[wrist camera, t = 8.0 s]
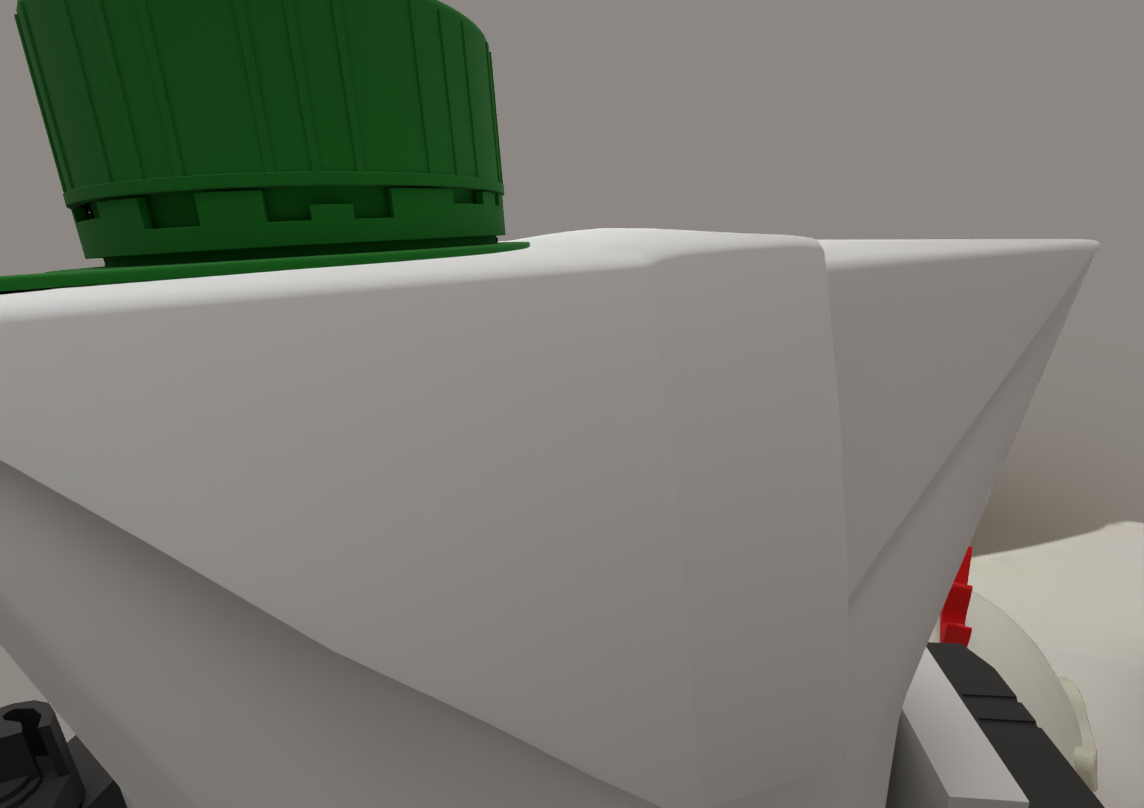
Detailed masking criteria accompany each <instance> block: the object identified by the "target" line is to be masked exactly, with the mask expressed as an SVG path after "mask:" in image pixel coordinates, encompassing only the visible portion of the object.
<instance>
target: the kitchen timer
mask: <svg viewBox="0 0 1144 808" xmlns="http://www.w3.org/2000/svg"><path fill="white" fill-rule="evenodd" d="M971 554H972V547H970V546H969V547H968V549H967V551H966V554H965V556H964V559H963V561H962V563H961V566H960V568H959V570H958V573H957V575H956V577H955V580H954V582H953V584H952V587H951V589H950V591H949V594H948V596H947V599H946V601H945V603H944V606H943V608H942V610H941V613H940V615H939V617H938V620H937V622H936V624H935V627H934V629H933V631H932V634H931V636H930V638H929V641H928V642H934V643H961V644H963V645H964V646H965V647H967V648H968V649H969V650H971V651H972V652H973V653H975V654H976V655H977V656H979V657H980V658H982V659H983V660H984V661H986V662H987V663H988V664H990V665H991V666H992V667H994V668H995V669H996V671H997V672H998V673H999V675H1000V676H1001V677H1002V678H1003V680H1004V681H1005V682H1006V683H1007V685H1008V686H1009V687H1010V688H1011V690H1012V691H1013V692H1014V694H1015V695H1016V696H1017V701H1018V702H1022V704H1023V705H1024V706H1025V707H1026V709H1027V710H1028V711H1029V713H1030V714H1031V715H1032V716H1033V718H1034V719H1035V720H1036V724H1037V726H1038V727H1039V728H1042V729H1043V730H1044V732H1045V733H1046V734H1047V735H1048V737H1049V738H1050V739H1051V740H1052V742H1053V743H1054V744H1055V745H1056V747H1057V748H1058V749H1059V751H1060V752H1061V753H1062V754H1063V756H1064V757H1065V758H1066V759H1067V761H1068V762H1069V763H1070V765H1071V766H1072V767H1073V768H1074V770H1075V771H1076V772H1077V773H1078V775H1079V776H1080V777H1081V778H1082V780H1083V781H1084V782H1085V784H1086V785H1087V786H1088V787H1089V789H1090V790H1091V791H1094V792H1095V791H1097V789H1098V786H1097V750H1096V746H1095V743H1094V739H1093V736H1092V732H1091V729H1090V725H1089V721H1088V717H1087V713H1086V708H1085V704H1084V701H1083V698H1082V695H1081V693H1080V691H1079V689H1078V688H1077V686H1076V685H1075V684H1074V682H1072V681H1071V680H1069V679H1068V678H1057V676H1056V674H1055V673H1054V671H1053V669H1052V667H1051V666H1050V664H1049V662H1048V661H1047V659H1046V657H1045V656H1044V654H1043V653H1042V652H1041V650H1040V649H1039V647H1038V646H1037V645H1036V643H1035V642H1034V641H1033V640H1032V639H1031V637H1030V636H1029V635H1028V634H1027V633H1026V632H1025V631H1024V630H1023V629H1022V628H1021V627H1020V626H1019V625H1018V624H1017V623H1016V622H1015V621H1014V620H1013V619H1012V618H1011V617H1010V616H1009V615H1008V614H1006V613H1005V612H1004V611H1003V610H1002V609H1000V608H999V607H998V606H996V605H995V604H993V603H992V602H990V601H989V600H987V599H986V598H984V597H983V596H981V595H979V594H977V593H975V592H973V591H972V586H970V585H967V583H968V576H969V568H970V561H971Z"/></svg>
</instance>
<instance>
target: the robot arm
mask: <svg viewBox="0 0 1144 808" xmlns="http://www.w3.org/2000/svg"><path fill="white" fill-rule="evenodd" d="M0 808H136V807H135V805H134V804H133V803H132V802H131V800H130V799H129V798H128V797H127V795H126V794H125V793H124V792H123V790H122V789H121V788H120V787H119V786H118V784H117V783H116V782H115V781H114V780H113V778H112V777H111V776H110V775H109V774H108V772H107V771H106V770H105V769H104V768H103V766H102V765H101V764H100V763H99V762H98V761H97V759H96V758H95V757H94V756H93V755H92V753H91V752H90V751H89V750H88V749H87V747H86V746H85V745H84V744H83V743H82V741H81V740H80V739H79V738H78V737H77V735H75V736H74V737H73V738H72V739H71V740H70V741H69V742H68V743H67V742H66V740H65V737H64V735H63V732H62V730H61V727H60V725H59V722H58V720H57V718H56V715H55V712H54V710H53V709H52V707H51V706H50V704H49V703H46V702H40V701H35V700H34V701H27V702H20V703H14V704H11V705H8V706H5V707H2V708H0ZM885 808H1104V806H1103V805H1102V804H1101V803H1100V801H1099V800H1098V799H1097V797H1096V796H1095V795H1094V794H1093V792H1092V791H1091V790H1090V789H1089V787H1088V786H1087V785H1086V784H1085V782H1084V781H1083V780H1082V778H1081V777H1080V776H1079V775H1078V773H1077V772H1076V771H1075V770H1074V768H1073V767H1072V766H1071V765H1070V763H1069V762H1068V761H1067V759H1066V758H1065V757H1064V756H1063V754H1062V753H1061V752H1060V751H1059V749H1058V748H1057V747H1056V745H1055V744H1054V743H1053V742H1052V740H1051V739H1050V738H1049V737H1048V735H1047V734H1046V733H1045V732H1044V730H1043V729H1042V728H1039V727H1038V726H1037V724H1036V720H1035V719H1034V718H1033V716H1032V715H1031V714H1030V713H1029V711H1028V710H1027V709H1026V707H1025V706H1024V705H1023V704H1022V702H1018V701H1017V696H1016V695H1015V694H1014V692H1013V691H1012V690H1011V688H1010V687H1009V686H1008V685H1007V683H1006V682H1005V681H1004V680H1003V678H1002V677H1001V676H1000V675H999V673H998V672H997V671H996V669H995V668H994V667H992V666H991V665H990V664H988V663H987V662H986V661H984V660H983V659H982V658H980V657H979V656H977V655H976V654H975V653H973V652H972V651H971V650H969V649H968V648H967V647H965V646H964V645H963V644H961V643H934V642H928V643H927V646H926V648H925V650H924V653H923V655H922V658H921V660H920V663H919V665H918V667H917V670H916V672H915V675H914V677H913V680H912V682H911V685H910V687H909V690H908V692H907V694H906V697H905V700H904V704H903V707H902V710H901V714H900V717H899V722H898V728H897V734H896V741H895V747H894V753H893V760H892V766H891V773H890V780H889V787H888V793H887V800H886V807H885Z"/></svg>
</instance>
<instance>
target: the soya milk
mask: <svg viewBox="0 0 1144 808" xmlns="http://www.w3.org/2000/svg"><path fill="white" fill-rule="evenodd" d="M15 20H16V24H17V28H18V31H19V35H20V38H21V42H22V45H23V49H24V52H25V56H26V60H27V63H28V67H29V70H30V74H31V78H32V81H33V85H34V88H35V92H36V96H37V99H38V103H39V106H40V110H41V113H42V117H43V121H44V124H45V128H46V131H47V135H48V138H49V142H50V146H51V149H52V153H53V156H54V159H55V163H56V167H57V171H58V174H59V178H60V181H61V185H62V189H63V192H64V194H63V196H64V200H65V203H66V207H67V208H69V209H71V210H72V214H73V217H74V220H75V224H76V228H77V231H78V234H79V238H80V241H81V244H82V248H83V252H84V255H85V258H86V259H89V258H103V259H104V262H105V267H93V268H81V269H70V270H60V271H51V272H45V273H41V274H27V275H13V276H0V645H1V646H2V647H3V648H4V649H5V651H6V652H7V653H8V654H9V655H10V656H11V658H12V659H13V660H14V661H15V663H16V664H17V665H18V666H19V667H20V669H21V670H22V671H23V672H24V673H25V674H26V676H28V678H29V679H30V680H31V681H32V683H33V684H34V685H35V686H36V688H37V689H38V690H39V691H40V692H41V694H42V695H43V696H44V697H45V698H46V700H47V701H48V702H49V703H50V704H51V705H52V707H53V708H54V709H55V710H56V711H57V713H58V714H59V715H60V716H61V717H62V719H63V720H64V721H65V722H66V723H67V725H68V726H69V727H70V728H71V729H72V731H73V732H74V733H75V734H76V735H77V737H78V738H79V739H80V740H81V741H82V743H83V744H84V745H85V746H86V747H87V749H88V750H89V751H90V752H91V753H92V755H93V756H94V757H95V758H96V759H97V761H98V762H99V763H100V764H101V765H102V766H103V768H104V769H105V770H106V771H107V772H108V774H109V775H110V776H111V777H112V778H113V780H114V781H115V782H116V783H117V784H118V786H119V787H120V788H121V789H122V790H123V792H124V793H125V794H126V795H127V797H128V798H129V799H130V800H131V802H132V803H133V804H134V805H135V807H136V808H885V807H886V800H887V793H888V787H889V780H890V773H891V766H892V760H893V753H894V747H895V741H896V734H897V728H898V722H899V717H900V714H901V710H902V707H903V704H904V700H905V697H906V694H907V692H908V690H909V687H910V685H911V682H912V680H913V677H914V675H915V672H916V670H917V667H918V665H919V663H920V660H921V658H922V655H923V653H924V650H925V648H926V646H927V643H928V641H929V638H930V636H931V634H932V631H933V629H934V627H935V624H936V622H937V620H938V617H939V615H940V613H941V610H942V608H943V606H944V603H945V601H946V599H947V596H948V594H949V591H950V589H951V587H952V584H953V582H954V580H955V577H956V575H957V573H958V570H959V568H960V566H961V563H962V561H963V559H964V556H965V554H966V551H967V549H968V547H969V544H970V542H971V540H972V537H973V535H974V532H975V530H976V528H977V526H978V523H979V521H980V519H981V516H982V514H983V511H984V509H985V507H986V504H987V502H988V500H989V497H990V495H991V493H992V490H993V488H994V485H995V483H996V481H997V479H998V476H999V474H1000V472H1001V469H1002V467H1003V465H1004V462H1005V460H1006V458H1007V455H1008V453H1009V451H1010V448H1011V446H1012V444H1013V441H1014V439H1015V437H1016V434H1017V432H1018V429H1019V427H1020V425H1021V423H1022V420H1023V418H1024V415H1025V413H1026V411H1027V408H1028V406H1029V404H1030V401H1031V399H1032V397H1033V395H1034V392H1035V390H1036V388H1037V385H1038V383H1039V381H1040V379H1041V376H1042V374H1043V372H1044V370H1045V367H1046V365H1047V363H1048V360H1049V358H1050V356H1051V354H1052V351H1053V349H1054V347H1055V344H1056V342H1057V340H1058V337H1059V335H1060V333H1061V331H1062V328H1063V326H1064V324H1065V321H1066V319H1067V317H1068V314H1069V312H1070V310H1071V308H1072V305H1073V303H1074V301H1075V298H1076V296H1077V294H1078V292H1079V289H1080V287H1081V285H1082V282H1083V280H1084V278H1085V275H1086V273H1087V271H1088V268H1089V266H1090V264H1091V262H1092V259H1093V257H1094V255H1095V253H1096V251H1097V249H1098V247H1099V242H1097V241H1094V240H1087V239H954V240H953V239H941V240H940V239H937V240H936V239H931V240H928V239H927V240H926V239H925V240H923V239H921V240H815V239H814V238H809V237H801V236H791V235H773V234H745V233H727V232H709V231H707V232H706V231H689V230H669V229H650V228H648V229H647V228H645V229H644V228H640V229H639V228H600V229H590V230H580V231H570V232H562V233H555V234H548V235H541V236H535V237H530V238H523V239H518V240H511V241H501V242H498V238H497V237H496V236H498V235H505V225H504V212H503V200H502V196H503V195H504V186H503V180H502V169H501V159H500V148H499V136H498V125H497V114H496V104H495V92H494V83H493V82H494V81H493V70H492V59H491V52H489V46H488V43H487V41H486V39H485V36H484V35H483V33H482V32H481V30H480V29H479V28H478V27H477V26H476V25H475V24H474V23H473V22H472V21H471V20H470V19H468V18H467V17H466V16H464V15H463V14H461V13H460V12H459V11H457V10H455V9H453V8H452V7H450V6H448V5H446V4H444V3H442V2H440V1H438V0H18V1H17V14H15ZM89 212H90V213H89Z"/></svg>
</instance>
